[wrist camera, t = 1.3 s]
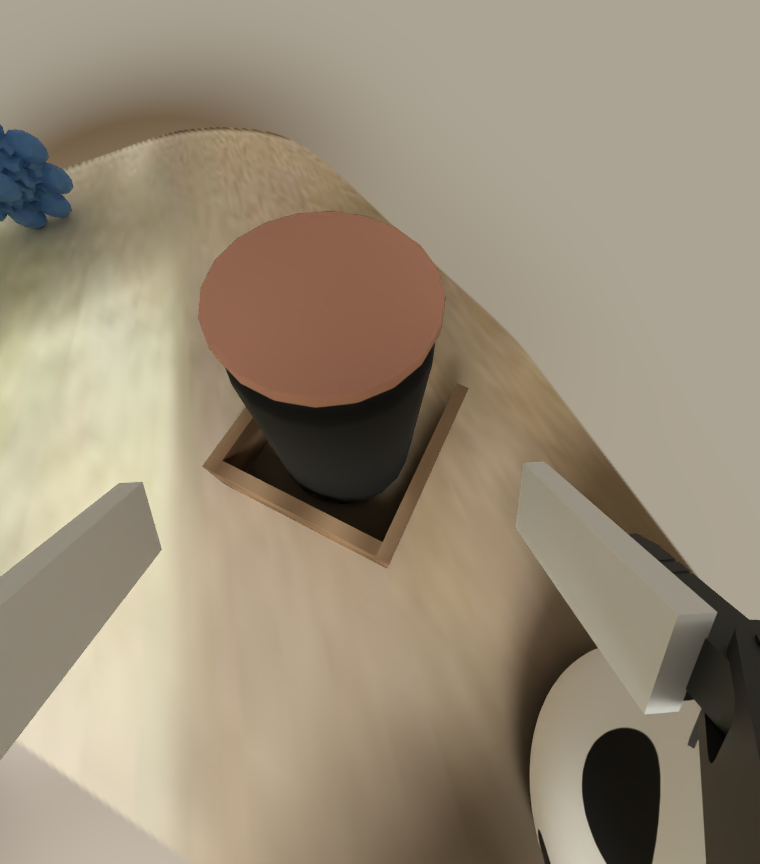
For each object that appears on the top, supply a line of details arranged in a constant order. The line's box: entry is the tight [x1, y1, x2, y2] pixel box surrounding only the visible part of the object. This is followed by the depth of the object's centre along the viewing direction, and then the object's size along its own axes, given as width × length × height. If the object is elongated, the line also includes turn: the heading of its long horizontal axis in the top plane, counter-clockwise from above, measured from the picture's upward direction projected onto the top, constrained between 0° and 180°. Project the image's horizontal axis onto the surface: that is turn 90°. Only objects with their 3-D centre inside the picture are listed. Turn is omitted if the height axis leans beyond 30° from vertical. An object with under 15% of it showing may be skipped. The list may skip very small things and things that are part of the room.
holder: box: [202, 384, 468, 568], centre depth 30 cm, size 15×15×4 cm
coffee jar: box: [198, 211, 446, 504], centre depth 24 cm, size 11×11×18 cm
